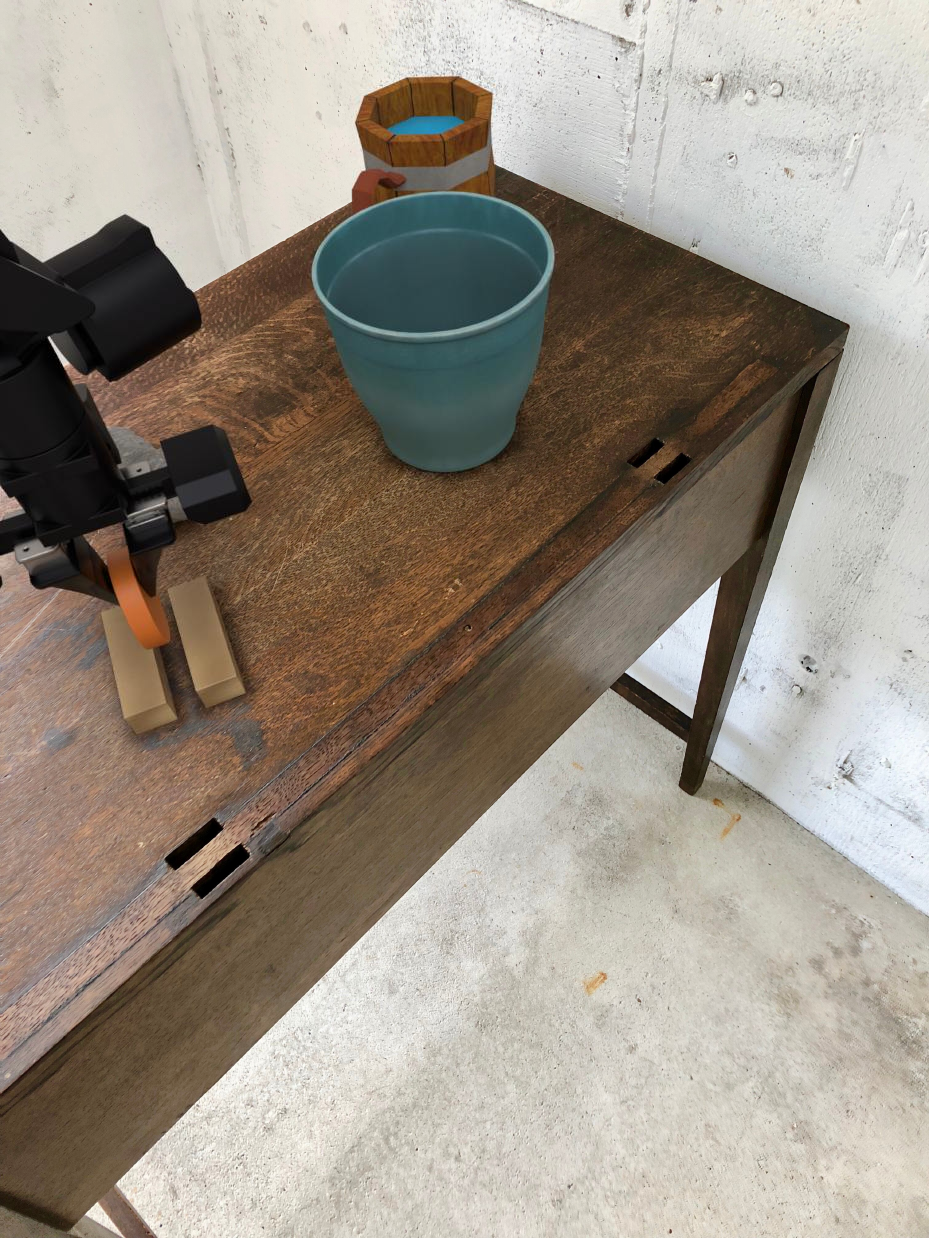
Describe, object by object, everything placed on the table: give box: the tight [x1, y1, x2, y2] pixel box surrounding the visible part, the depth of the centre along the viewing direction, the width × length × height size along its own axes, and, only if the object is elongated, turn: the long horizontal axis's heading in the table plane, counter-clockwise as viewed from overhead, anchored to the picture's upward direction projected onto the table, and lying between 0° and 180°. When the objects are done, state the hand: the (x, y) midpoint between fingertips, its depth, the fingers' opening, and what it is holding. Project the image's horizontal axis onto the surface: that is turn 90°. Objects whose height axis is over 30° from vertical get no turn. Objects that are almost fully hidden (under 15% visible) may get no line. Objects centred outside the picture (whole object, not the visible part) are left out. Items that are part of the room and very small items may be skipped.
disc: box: [106, 546, 171, 650], centre depth 59 cm, size 2×7×7 cm, turn 23°
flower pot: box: [311, 191, 556, 473], centre depth 72 cm, size 18×18×17 cm
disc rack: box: [100, 575, 247, 736], centre depth 65 cm, size 8×10×2 cm
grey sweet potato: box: [106, 426, 188, 524], centre depth 73 cm, size 6×14×8 cm, turn 50°
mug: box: [351, 75, 496, 216], centre depth 87 cm, size 20×14×15 cm
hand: (139, 596), depth 59 cm, fingers closed on disc, 1 cm apart
